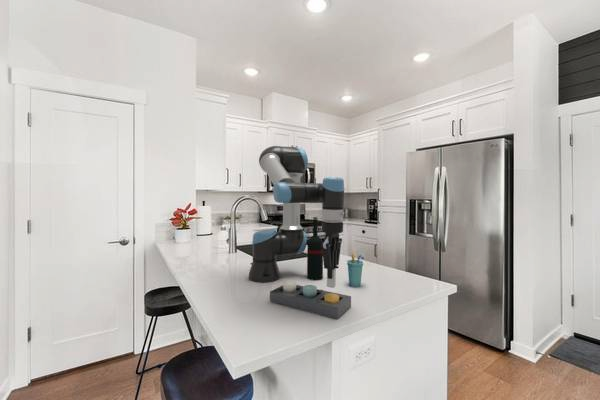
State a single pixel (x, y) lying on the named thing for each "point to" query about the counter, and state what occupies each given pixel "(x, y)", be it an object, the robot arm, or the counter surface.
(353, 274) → the cup
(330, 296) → the button amber
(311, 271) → the wine bottle
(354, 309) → the counter surface
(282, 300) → the console
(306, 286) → the button teal
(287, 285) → the button ivory
